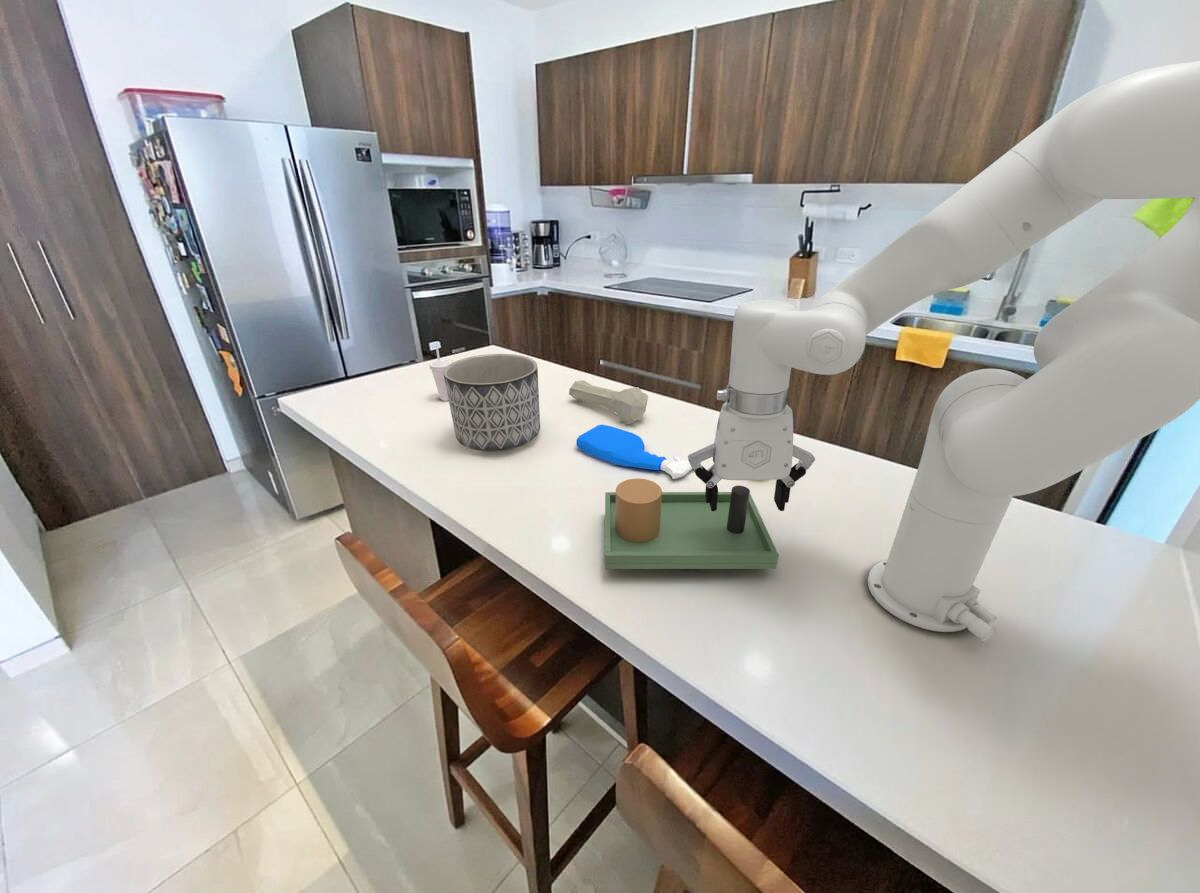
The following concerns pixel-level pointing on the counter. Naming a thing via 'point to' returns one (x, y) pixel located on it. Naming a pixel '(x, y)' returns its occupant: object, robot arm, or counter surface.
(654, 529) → the stubby tan cylinder
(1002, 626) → the counter surface
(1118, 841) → the counter surface
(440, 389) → the smoothie
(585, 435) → the spray bottle
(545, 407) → the counter surface
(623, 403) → the faceted club
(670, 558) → the tray
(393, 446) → the counter surface
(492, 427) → the planter
